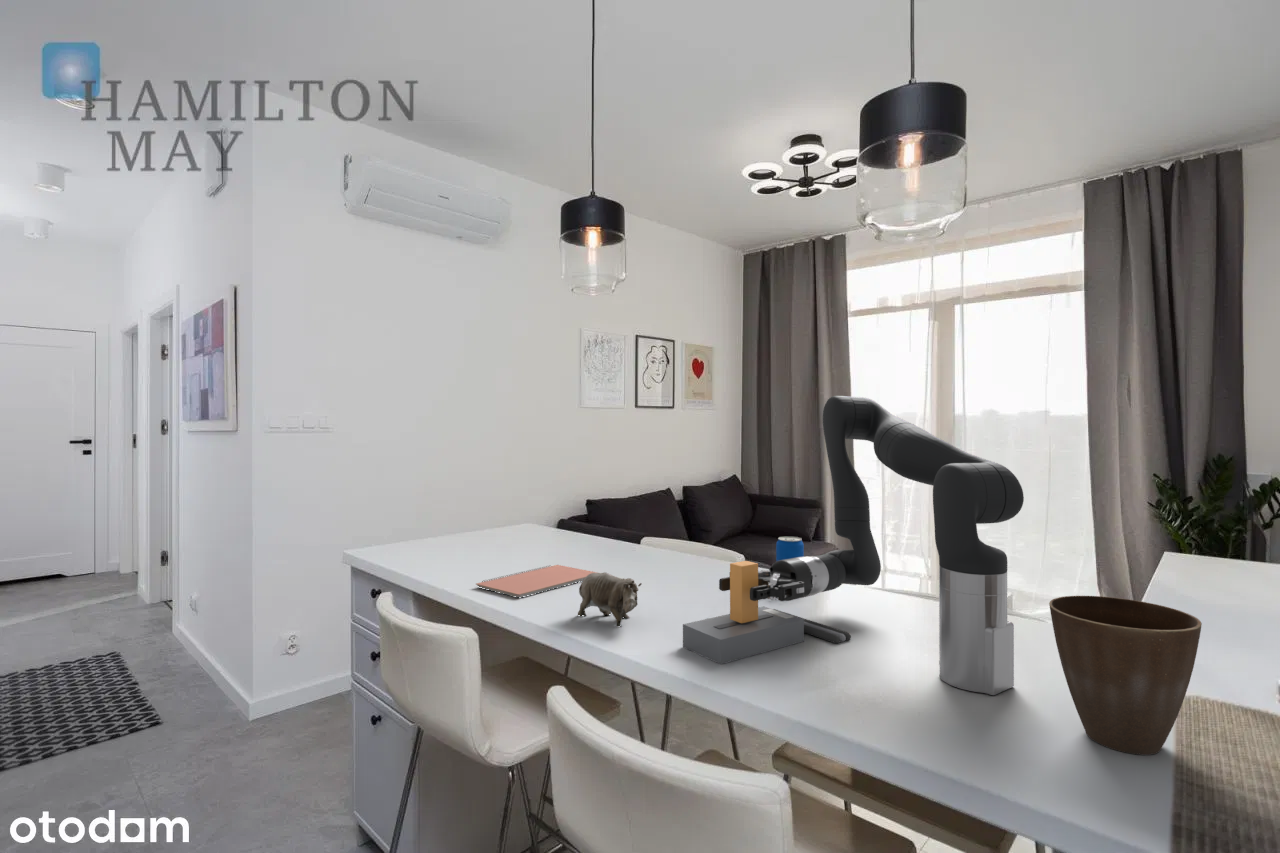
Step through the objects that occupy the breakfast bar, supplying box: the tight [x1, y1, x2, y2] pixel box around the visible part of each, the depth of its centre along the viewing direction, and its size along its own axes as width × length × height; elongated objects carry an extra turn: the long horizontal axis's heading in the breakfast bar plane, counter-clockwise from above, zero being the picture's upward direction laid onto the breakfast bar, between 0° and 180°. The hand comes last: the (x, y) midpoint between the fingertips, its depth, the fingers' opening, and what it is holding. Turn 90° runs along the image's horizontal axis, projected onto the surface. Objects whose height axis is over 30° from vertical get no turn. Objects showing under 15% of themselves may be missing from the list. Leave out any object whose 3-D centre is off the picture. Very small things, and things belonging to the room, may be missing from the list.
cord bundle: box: [773, 608, 852, 644], centre depth 120 cm, size 19×10×1 cm, turn 34°
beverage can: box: [775, 536, 805, 562], centre depth 153 cm, size 6×6×12 cm
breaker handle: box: [729, 560, 759, 623], centre depth 113 cm, size 3×4×10 cm
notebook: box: [475, 564, 599, 597], centre depth 159 cm, size 27×17×2 cm, turn 141°
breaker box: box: [682, 606, 805, 665], centre depth 113 cm, size 10×20×4 cm, turn 124°
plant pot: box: [1048, 595, 1203, 756], centre depth 78 cm, size 15×15×16 cm
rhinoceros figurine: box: [577, 571, 643, 626], centre depth 128 cm, size 8×14×15 cm
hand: (735, 589), depth 112 cm, fingers open, 7 cm apart
